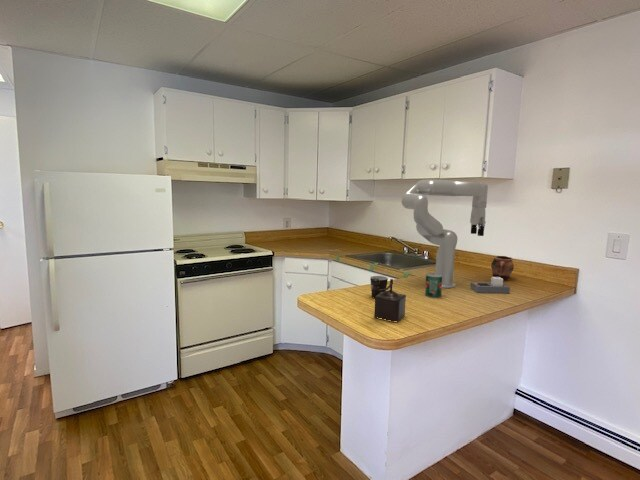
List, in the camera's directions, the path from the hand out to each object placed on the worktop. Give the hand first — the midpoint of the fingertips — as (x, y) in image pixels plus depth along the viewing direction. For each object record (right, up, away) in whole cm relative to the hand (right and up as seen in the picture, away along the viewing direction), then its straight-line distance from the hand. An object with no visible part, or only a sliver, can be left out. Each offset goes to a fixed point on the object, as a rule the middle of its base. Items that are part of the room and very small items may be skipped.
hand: (476, 234), depth 208 cm
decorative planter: (+20, -27, +12) cm, 36 cm away
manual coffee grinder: (-63, -36, -57) cm, 92 cm away
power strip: (+1, -30, -10) cm, 32 cm away
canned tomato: (-33, -32, -24) cm, 52 cm away
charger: (+4, -30, -14) cm, 34 cm away
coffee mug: (-61, -32, -26) cm, 74 cm away
